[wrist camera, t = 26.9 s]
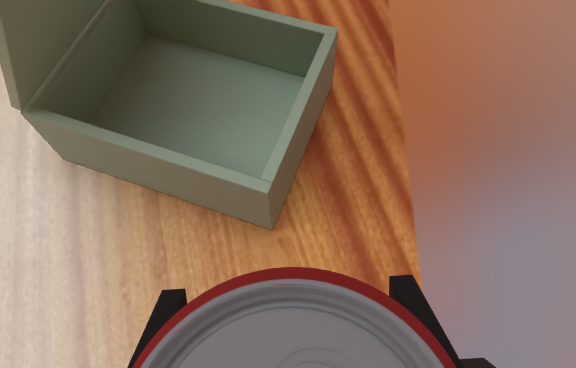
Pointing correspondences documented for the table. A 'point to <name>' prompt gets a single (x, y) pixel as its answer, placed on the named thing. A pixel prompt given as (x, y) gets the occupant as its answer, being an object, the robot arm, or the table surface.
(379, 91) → the table surface
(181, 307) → the robot arm
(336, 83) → the table surface
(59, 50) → the lid
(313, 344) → the beverage can
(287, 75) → the chest
